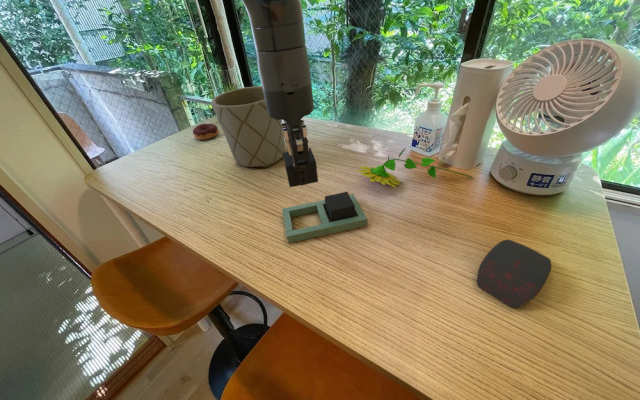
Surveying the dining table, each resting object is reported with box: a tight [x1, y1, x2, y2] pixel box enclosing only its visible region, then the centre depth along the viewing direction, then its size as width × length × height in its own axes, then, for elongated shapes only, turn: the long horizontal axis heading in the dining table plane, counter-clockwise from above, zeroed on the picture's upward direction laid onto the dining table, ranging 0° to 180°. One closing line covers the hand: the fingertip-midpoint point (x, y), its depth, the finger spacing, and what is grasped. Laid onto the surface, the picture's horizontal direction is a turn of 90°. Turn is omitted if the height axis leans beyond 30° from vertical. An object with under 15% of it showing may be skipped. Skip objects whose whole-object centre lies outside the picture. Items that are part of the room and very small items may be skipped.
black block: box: [282, 147, 319, 188], centre depth 48 cm, size 5×5×4 cm
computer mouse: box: [476, 239, 552, 309], centre depth 42 cm, size 8×14×4 cm, turn 130°
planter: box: [211, 85, 286, 169], centre depth 79 cm, size 19×19×20 cm
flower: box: [355, 147, 473, 189], centre depth 65 cm, size 12×9×30 cm
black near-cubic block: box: [324, 191, 355, 222], centre depth 57 cm, size 5×5×4 cm
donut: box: [192, 123, 220, 141], centre depth 103 cm, size 10×10×4 cm
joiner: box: [281, 193, 368, 244], centre depth 57 cm, size 10×18×2 cm, turn 103°
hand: (301, 175), depth 49 cm, fingers closed on black block, 5 cm apart
